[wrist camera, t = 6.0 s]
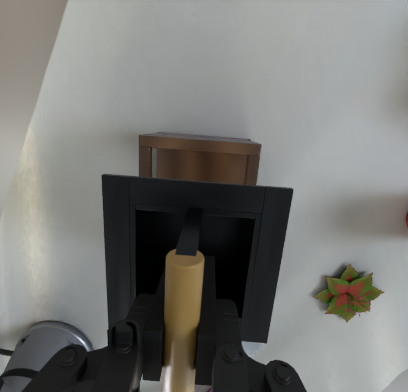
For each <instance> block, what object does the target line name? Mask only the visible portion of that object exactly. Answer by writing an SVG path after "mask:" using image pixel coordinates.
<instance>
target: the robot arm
mask: <svg viewBox="0 0 408 392" xmlns="http://www.w3.org/2000/svg"><path fill="white" fill-rule="evenodd" d="M165 271H166V264H165V267H164V270H163V273H162V276H161V279H160V282H159V285H158V287H157V290H156V293H155V294H147V293H141V294H139V295H138V296H137V297H136V298H135V299H134V301H133V304H132V306H131V308H130V310H129V313H128V315H127V317H126V319H122V320H119V321H117V322H115V323H114V324H112V325H111V326H110V327H109V329H108V330H107V334H108V346H106V347H104V348H101V349H98V350H93V347H92V345H91V343H90V341H89V340H88V338H87V337H86V336H85V335H84V334H83V333H82V332H80V331H79V330H78V329H76V328H74V327H72V326H70V325H68V324H65V323H61V322H55V321H47V322H41V323H38V324H36V325H34V326H32V327H31V328H30V329H29V330H28V331H27V332H26V333H25V334H24V335H23V336H22V337H21V339H20V340H19V342H18V343H17V346H16V348H15V350H14V351H10V350H5V349H0V354H1V355H6V356H11V358H10V360H9V362H8V364H7V366H6V368H5V370H4V372H3V374H2V375H1V376H0V392H140V380H141V377H142V373H143V380H149V381H160V377H161V372H162V367H163V341H164V305H165ZM195 384H196V385H208V386H212V391H211V392H307V391H306V389H305V387H304V385H303V383H302V381H301V379H300V377H299V375H298V374H297V372H296V371H295V369H294V368H293V367H292V366H290V365H289V364H288V363H286V362H283V361H280V360H274V361H270V362H269V363H268V364H267V365H264V364H261V363H259V362H257V361H255V360H253V359H251V358H250V357H249V356H248V355H247V354H246V353H245V351H244V349H243V346H242V340H241V333H240V326H239V319H238V312H237V306H236V305H235V303H234V302H233V300H229V299H217V298H216V287H215V256H204V272H203V285H202V298H201V310H200V320H199V332H198V345H197V357H196V371H195Z"/></svg>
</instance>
